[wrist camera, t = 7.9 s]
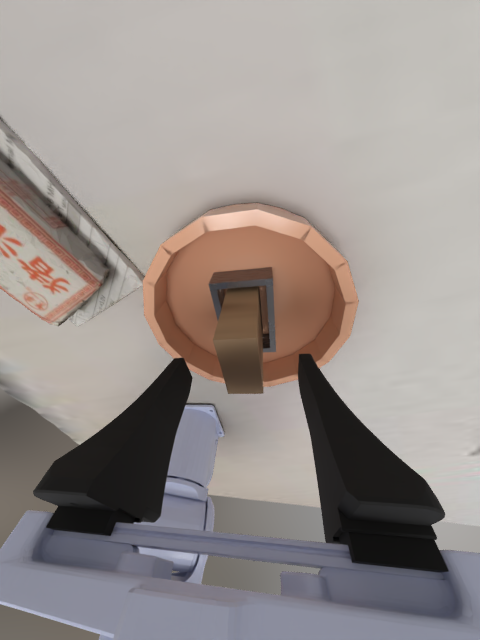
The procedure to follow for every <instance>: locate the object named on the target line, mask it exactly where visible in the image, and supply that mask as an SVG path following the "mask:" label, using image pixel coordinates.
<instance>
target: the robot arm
mask: <svg viewBox="0 0 480 640" xmlns="http://www.w3.org/2000/svg"><path fill="white" fill-rule="evenodd" d="M298 381H299V388H300V394H301V398H302V403H303V407H304V411H305V415H306V419H307V423H308V427H309V431H310V436H311V441H312V448H313V454H314V461H315V467H316V474H317V481H318V488H319V495H320V503H321V510H322V518H323V525H324V534H325V540H326V543H322V542H312V541H301V540H291V539H282V538H272V537H261V536H251V535H241V534H230V533H221V532H213V526H214V505H213V503H212V500H211V498H210V497H207V494H208V488H206V487H207V486H208V484H209V483H210V481H211V478H212V475H213V469H214V462H215V456H216V450H217V444H218V437H224V431H223V429H222V426H221V423H220V421H219V418H218V416H217V413H216V410H215V408H214V406H213V405H186V402H187V399H188V396H189V393H190V388H191V383H192V376H191V373H190V371H189V369H188V366H187V364H186V362H185V360H184V358H174V360H173V361H172V362H171V363H170V364H169V365H168V366H167V367H166V369H165V370H164V371H163V372H162V373H161V374H160V375H159V377H158V378H157V379H156V380H155V381H154V382H153V383H152V384H151V385H150V386H149V387H148V388H147V390H146V391H145V392H144V393H143V394H142V395H141V396H140V397H139V398H138V399H137V400H136V401H135V402H134V403H132V404H131V405H130V406H129V407H128V408H127V409H126V410H125V411H124V412H122V413H121V414H120V415H119V416H118V417H117V418H115V419H114V420H113V421H112V422H110V423H109V424H108V425H107V426H105V427H104V428H103V429H101V430H100V431H99V432H97V433H96V434H95V435H93V436H92V437H91V438H89V439H88V440H86V441H85V442H83V443H82V444H81V445H79V446H78V447H76V448H75V449H73V450H71V451H70V452H68V453H67V454H65V455H64V456H62V457H61V458H59V459H57V460H56V461H54V463H53V464H52V466H51V467H50V469H49V470H48V471H47V473H46V474H45V475H44V477H43V478H42V480H41V481H40V483H39V484H38V486H37V487H36V488H35V490H34V491H33V493H34V496H36V497H38V498H40V499H42V500H45V501H47V502H50V503H52V504H55V505H57V506H58V508H57V510H56V511H55V513H51V512H44V511H34V510H28V511H26V512H25V514H24V515H23V517H22V518H21V520H20V521H19V523H18V524H17V526H16V527H15V528H14V530H13V531H12V533H11V534H10V536H9V537H8V539H7V540H6V542H5V543H4V545H3V546H2V548H1V549H0V604H2V605H5V606H9V607H13V608H16V609H19V610H23V611H26V612H29V613H32V614H36V615H39V616H42V617H45V618H49V619H52V620H56V621H59V622H62V623H65V624H68V625H72V626H75V627H78V628H81V629H85V630H88V631H91V632H94V633H98V634H100V637H99V640H480V553H474V552H463V551H454V550H440V551H439V549H438V547H437V545H436V543H435V540H436V539H437V537H436V534H435V532H434V530H433V528H432V526H431V525H432V524H434V523H436V522H438V521H440V520H442V519H443V518H444V517H445V512H444V510H443V508H442V506H441V504H440V503H439V501H438V499H437V497H436V496H435V494H434V493H433V491H432V490H431V488H430V487H429V485H428V484H427V482H426V481H425V479H423V478H422V477H421V476H420V475H419V474H417V473H416V472H415V471H414V470H413V469H411V468H410V467H409V466H408V465H407V464H406V463H404V462H403V461H402V460H401V459H400V458H399V457H397V456H396V455H395V454H394V453H393V452H392V451H391V450H390V449H389V448H387V447H386V446H385V445H384V444H383V443H382V442H381V441H380V440H379V439H378V438H377V437H376V436H375V435H374V434H373V433H372V432H371V431H370V430H369V429H368V428H367V427H366V426H365V425H364V424H363V423H362V422H361V421H360V420H359V419H358V418H357V417H356V416H355V415H354V414H353V412H352V411H351V410H350V409H349V408H348V407H347V406H346V404H345V403H344V402H343V401H342V400H341V398H340V397H339V396H338V395H337V393H336V392H335V391H334V389H333V388H332V387H331V385H330V384H329V382H328V381H327V380H326V378H325V377H324V375H323V374H322V372H321V371H320V369H319V367H318V366H317V364H316V362H315V361H314V359H313V357H312V355H311V354H299V363H298ZM208 555H211V556H219V557H228V558H236V559H246V560H253V561H262V562H271V563H279V564H287V565H297V566H305V567H314V568H322V569H321V570H320V571H319V573H318V575H317V574H311V573H300V572H284V571H282V573H281V595H274V594H268V593H261V592H254V591H246V590H239V589H232V588H225V587H217V586H211V585H203V584H201V581H202V576H203V571H204V567H205V563H206V560H207V557H208ZM172 570H173V571H179V572H177V573H172Z"/></svg>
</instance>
